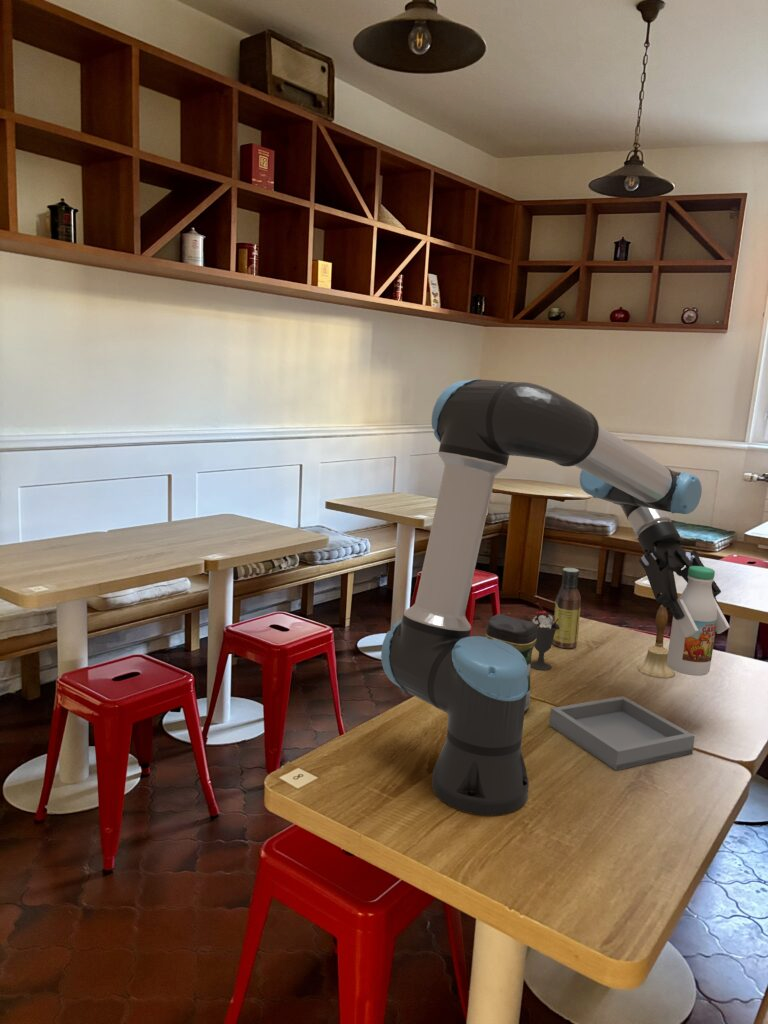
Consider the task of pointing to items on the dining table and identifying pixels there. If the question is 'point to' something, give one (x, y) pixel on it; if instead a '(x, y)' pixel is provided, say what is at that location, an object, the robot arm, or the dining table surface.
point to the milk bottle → (698, 648)
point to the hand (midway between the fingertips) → (708, 632)
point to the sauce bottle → (567, 610)
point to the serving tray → (621, 732)
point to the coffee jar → (515, 638)
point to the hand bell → (657, 651)
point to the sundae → (543, 637)
